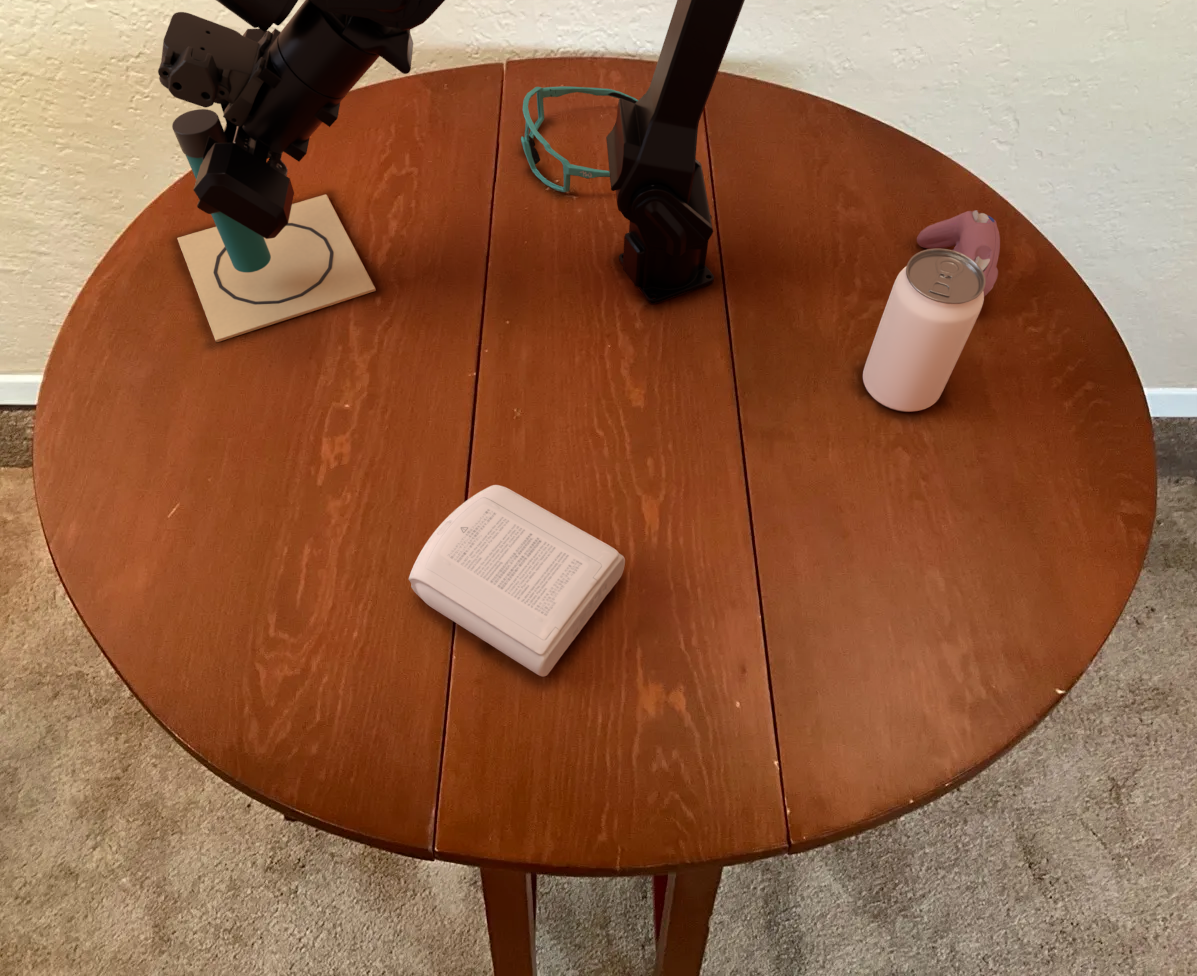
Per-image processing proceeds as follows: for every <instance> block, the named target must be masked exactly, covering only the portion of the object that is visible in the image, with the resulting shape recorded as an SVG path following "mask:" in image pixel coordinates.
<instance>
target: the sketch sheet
mask: <svg viewBox="0 0 1197 976" xmlns="http://www.w3.org/2000/svg"><path fill="white" fill-rule="evenodd" d="M176 239H177V242H178V245H179V247H180V249H181V252H182V255H183V258H184V260H185V263H186V266H187V269H188V271H189V274H190V276H191V279H192V282H193V284H194V287H195V291H196V292H197V294H198V298H199V301H200V304H201V306H202V309H203V312H204V314H205V316H206V319H207V322H208V324H209V327H210V330H211V333H212V335H213V338H214V340H215V343H219V342H222V341H226V340H229V339H232V338H235V337H238V336H242V335H243V334H246V333H250V332H254V331H257V330H259V329H262V328H265V327H269V326H272V325H274V324H278V323H281V322H284V321H287V320H290V319H293V318H296V317H299V316H302V315H305V314H306V315H307V314H308V313H309V314H310V313H312V312H314V311H317V310H321V309H324V308H327V307H330V306H333V305H337V304H339V303H342V302H346V301H349V300H351V299H355V298H358V297H361V296H364V295H367V294H369V293H373V292H377V290H376V287H375V284H374V283H373V281H372V279H371V277H370V276H369V273H368V271H367V270H366V268H365V266H364V264H363V262H362V260H361V258H360V256H359V254H358V252H357V250H356V249H355V247H354V244H353V243H352V241H351V238H350V237H349V235H348V233H347V231H346V230H345V227H344V225H343V224H342V222H341V220H340V218H339V216H338V214H337V212H336V209H335V208H334V206H333V205H332V202H331V200H330V198H329V196H328V195H327V193H326V194H322V195H319V196H315V197H312V198H308V199H305V200H302V201H298V202H295V203H292V207H291V211H290V216H289V221H288V224H287V225H286V226H285V227H284V228H283V229H282V230H281V232H280V233H279V234H278V235H277V236H276V237H275V238H270V239H266V238H264V239H265V242H266V244H267V247H268V250H269V252H270V255H271V259H270V262H269V263H268V264H267V265H266V266H265V267H264V268H262V269H260V270H258V271H255V272H248V273H246V272H240V271H238V270H236V269H235V268H234V266H233V264H232V262H231V259H230V257H229V255H228V252H227V250H226V248H225V245H224V243H223V241H222V239H221V236H220V234H219V232H218V229H217V227H216V226H213V227H210V228H207V229H202V230H199V231H196V232H192V233H188V234H186V235H183V236H179V237H177V238H176Z"/></svg>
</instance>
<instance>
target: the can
mask: <svg viewBox="0 0 1197 976" xmlns="http://www.w3.org/2000/svg"><path fill="white" fill-rule="evenodd" d="M895 278H896V279H894V283H893V285H892V288H891V290H890V293H889V296H888V299H887V302H886V304H885V307H884V310H883V313H882V315H881V318H880V321H879V324H878V326H877V329H876V333H875V336H874V338H873V341H872V344H871V347H870V349H869V353H868V355H867V358H866V361H865V364H864V367H863V371H862V383H863V385H864V387H865V389H866V391H867V392H868V393H869V395H870V396H871V397H872V398H873V399H874V400H875V401H876V402H877V403H879V404H880V405H882V406H884V407H886V408H888V409H891V410H893V411H897V412H903V413H904V412H905V413H910V412H911V413H912V412H913V413H914V412H918V411H923V410H926V409H928V408H930V407H931V406H933V405H935V404H936V403H937V402H938V401H939V399H940V397H941V395H942V394H943V392H944V389H945V388H946V386H947V383H948V382H949V379H950V377H951V375H952V373H953V370H954V369H955V366H956V364H957V362H958V360H959V358H960V356H961V354H962V352H963V350H964V347H965V345H966V343H967V341H968V339H969V337H970V334H971V332H972V330H973V329H974V326H975V324H976V323H977V319H978V318H979V316H980V313H981V311H982V308H983V305H984V301H985V296H984V292H983V290H984V288H985V283H986V280H985V275H984V273H983V271H982V269H981V268H980V266H979V265H978V264H977V263H976V262H975V261H973V260H972V259H971V258H969V257H968V256H966V255H964V254H962V253H959V252H956V251H953V249H948V248H935V249H927V248H926V249H923V250H920V251H919V252H916V253H915V254H913V256H911V257H910V258H909V260H908V261H907V263H906V265H905V266H904V268H902V269H901V270H900V271H899V273H898V274H897V276H896V277H895Z"/></svg>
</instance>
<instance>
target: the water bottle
mask: <svg viewBox="0 0 1197 976" xmlns="http://www.w3.org/2000/svg"><path fill="white" fill-rule="evenodd" d="M171 128H172V131H173V132H174V135H175V138H176V140H177V142H178V144H179V147H180V149H181V151H182V154H184V155H185V157H186V160H187V162H188V164H189V166H190V167H189V168H190V169H191V171H192V173H193V176H194V178H195V180H196V179H197V176H198V172H199V169H200V166H201V164H202V162H203V154H204V150H205V147H206V143H207V140H208V137H209V136H210V137H211V138H213V139H214V140H216V141H218V142H219V143H227V138H226V135H225V132H224V127H223V125H222V122H221V120H220V117H219V115H218V114H217V113H216V112H215V111H214V110H211V109H208V108H207V109H205V108H201V109H200V108H199V109H193V110H189V111H187V112H183V113H181V114H180V115H178V116H177V117H176V118H175V119H174V120H173V122H172V124H171ZM210 215H211V218H212V219H213V222H214V225H215V227H217V229H218V232H219V234H220V236H221V239H222V241H223V243H224V245H225V248H226V250H227V252H228V255H229V257H230V259H231V262H232V264H233V266H234V268H235V269H236V270H238V271H240V272H246V273H248V272H255V271H258V270H260V269H262V268H264V267H265V266H266V265H267V264H268V263H269V262H270V259H271V255H270V252H269V250H268V247H267V244H266V242H265V239H264V237H262V236H261V235H259V234H257V233H256V232H254V231H252V230H250V229H249V228H247V227H245V226H244V225H242V224H240V223H238V222H237V221H235V220H233V219H232V218H230V217H228V216H227V215H225V214H223V213H221V212H217V213H213V214H210Z"/></svg>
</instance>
